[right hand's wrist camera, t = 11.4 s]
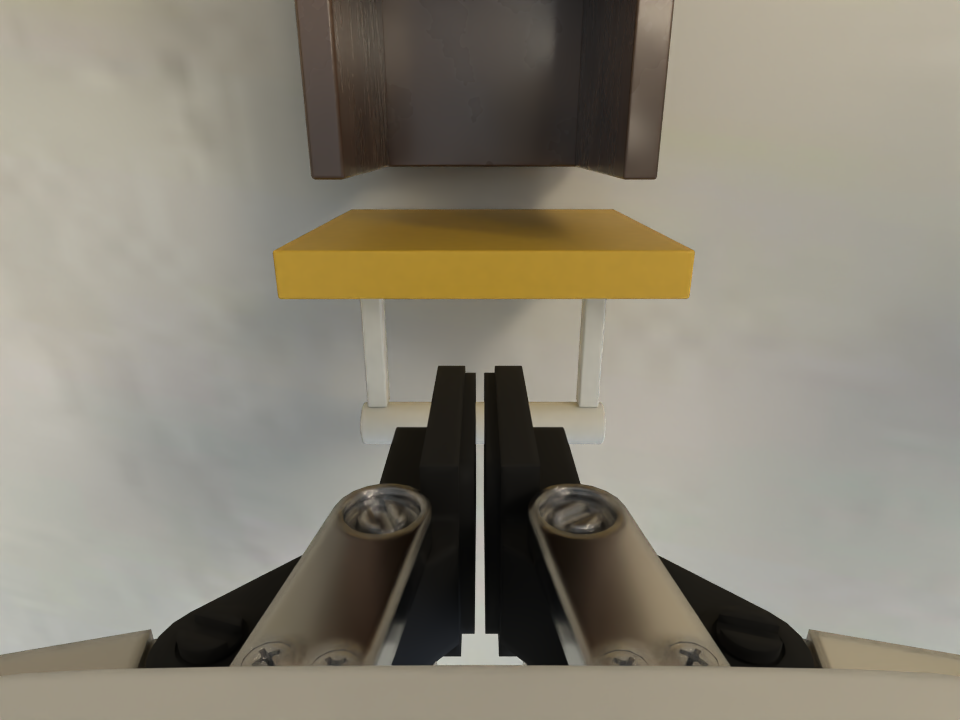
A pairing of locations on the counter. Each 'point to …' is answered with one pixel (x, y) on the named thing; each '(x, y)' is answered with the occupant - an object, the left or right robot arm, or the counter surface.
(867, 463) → the counter surface
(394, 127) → the drawer
